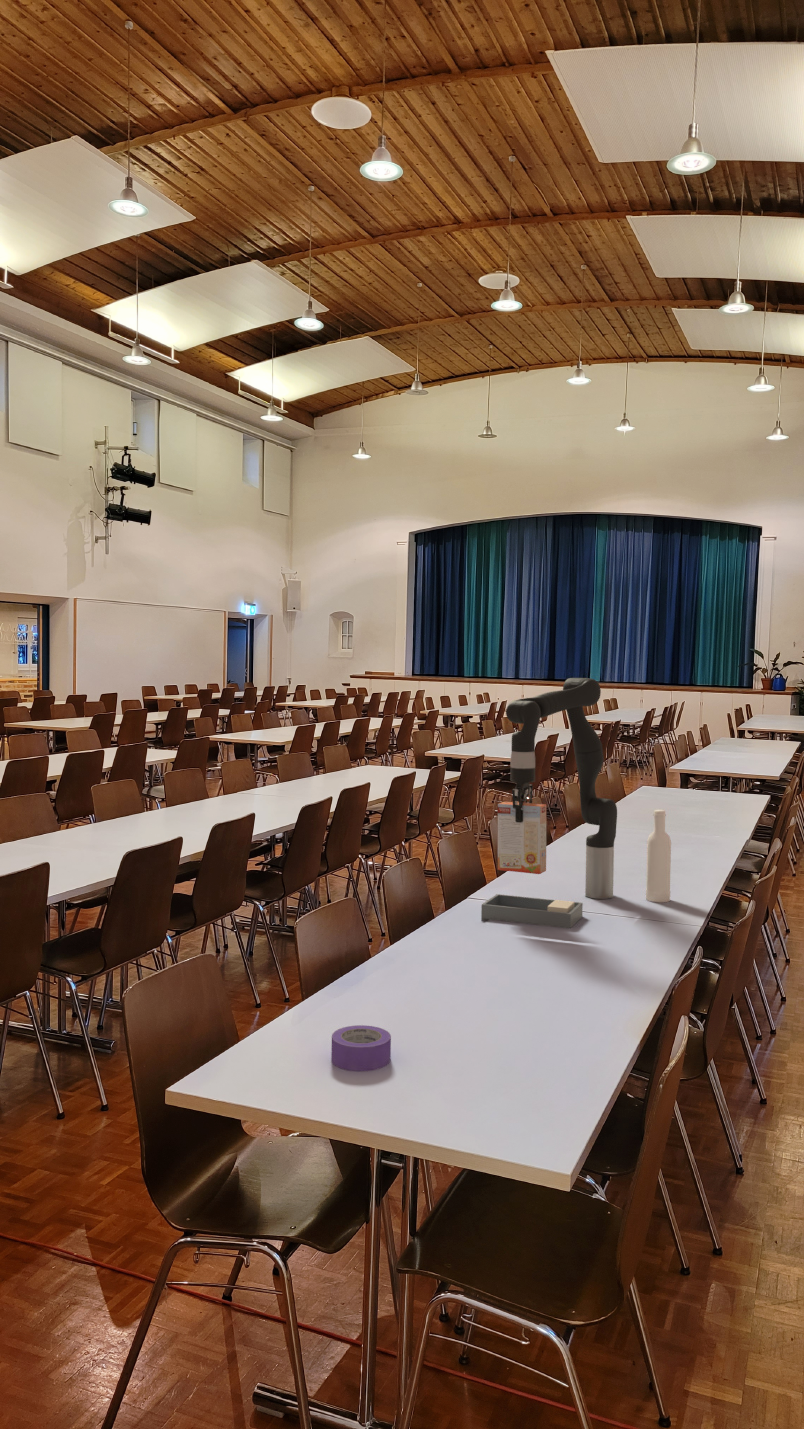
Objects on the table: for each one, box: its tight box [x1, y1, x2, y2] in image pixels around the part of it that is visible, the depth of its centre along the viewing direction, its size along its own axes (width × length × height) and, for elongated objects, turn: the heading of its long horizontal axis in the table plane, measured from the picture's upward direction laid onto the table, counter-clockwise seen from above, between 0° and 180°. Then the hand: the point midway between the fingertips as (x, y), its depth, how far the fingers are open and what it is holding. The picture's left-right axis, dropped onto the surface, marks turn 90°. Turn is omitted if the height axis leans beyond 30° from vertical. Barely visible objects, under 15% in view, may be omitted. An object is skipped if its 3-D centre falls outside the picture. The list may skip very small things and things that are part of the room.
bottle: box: [645, 809, 672, 904], centre depth 333 cm, size 8×8×30 cm
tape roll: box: [330, 1024, 392, 1072], centre depth 199 cm, size 12×12×5 cm
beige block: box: [547, 899, 575, 913], centre depth 304 cm, size 9×6×5 cm, turn 157°
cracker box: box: [497, 801, 547, 875], centre depth 307 cm, size 14×6×21 cm, turn 62°
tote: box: [480, 893, 584, 929], centre depth 307 cm, size 15×28×5 cm, turn 67°
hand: (522, 820), depth 307 cm, fingers closed on cracker box, 6 cm apart
